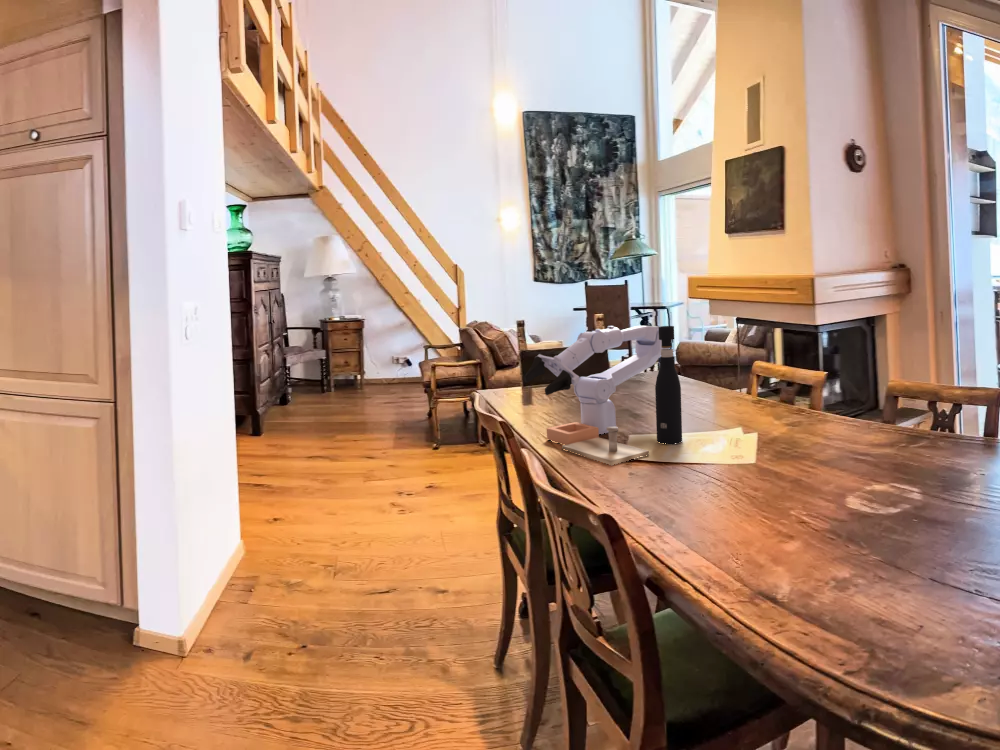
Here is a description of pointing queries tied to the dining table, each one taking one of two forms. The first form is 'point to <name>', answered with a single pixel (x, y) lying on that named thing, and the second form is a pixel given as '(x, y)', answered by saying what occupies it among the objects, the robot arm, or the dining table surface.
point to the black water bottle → (668, 392)
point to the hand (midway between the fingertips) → (535, 385)
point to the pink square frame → (572, 433)
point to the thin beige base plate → (606, 449)
